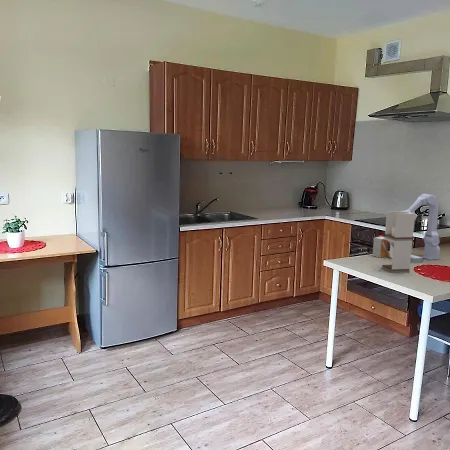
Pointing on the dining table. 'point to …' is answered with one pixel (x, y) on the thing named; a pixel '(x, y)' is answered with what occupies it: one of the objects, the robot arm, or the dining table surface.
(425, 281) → the dining table surface
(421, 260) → the pad
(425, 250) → the robot arm
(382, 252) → the small box
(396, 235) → the coffee grinder
